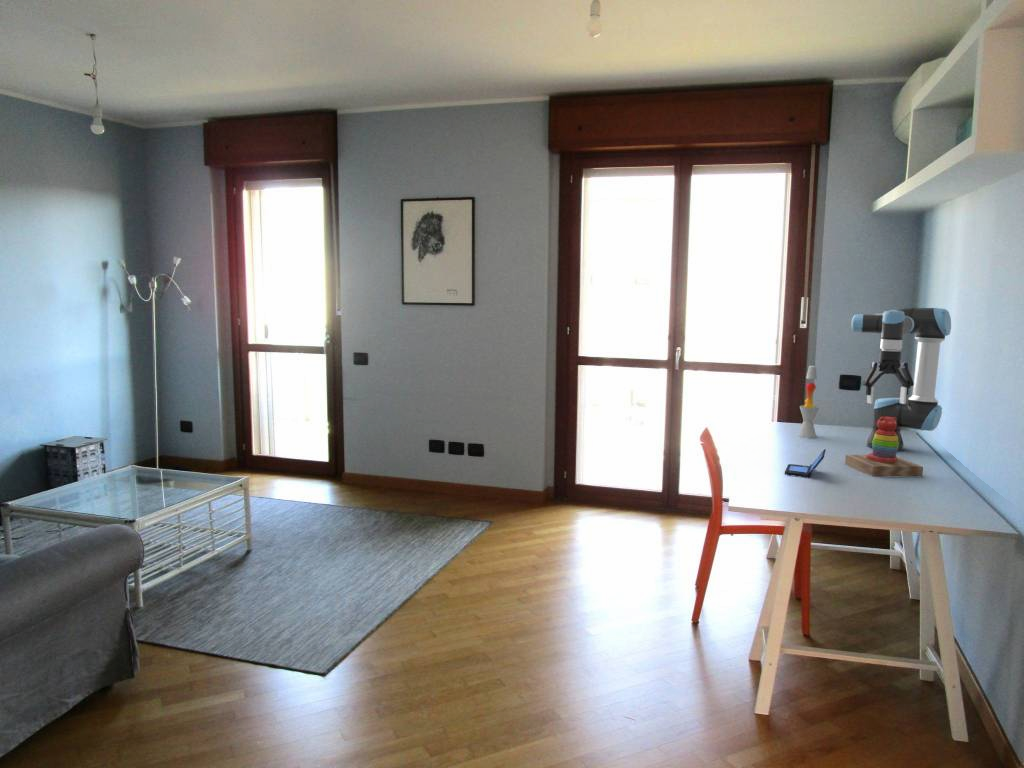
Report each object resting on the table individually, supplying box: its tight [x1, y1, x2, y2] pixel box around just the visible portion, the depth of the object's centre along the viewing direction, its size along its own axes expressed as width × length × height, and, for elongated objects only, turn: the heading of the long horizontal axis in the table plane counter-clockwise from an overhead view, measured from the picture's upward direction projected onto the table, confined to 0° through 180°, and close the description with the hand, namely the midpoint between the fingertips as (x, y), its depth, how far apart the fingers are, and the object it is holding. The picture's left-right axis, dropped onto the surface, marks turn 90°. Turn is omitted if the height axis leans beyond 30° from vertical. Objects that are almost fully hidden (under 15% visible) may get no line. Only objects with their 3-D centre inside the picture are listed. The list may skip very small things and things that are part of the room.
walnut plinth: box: [844, 454, 924, 477], centre depth 283 cm, size 20×20×4 cm
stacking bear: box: [866, 417, 899, 463], centre depth 281 cm, size 11×10×18 cm
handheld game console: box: [784, 448, 827, 479], centre depth 275 cm, size 16×13×9 cm
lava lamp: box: [797, 365, 820, 439], centre depth 349 cm, size 9×9×35 cm
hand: (886, 403), depth 282 cm, fingers open, 13 cm apart
